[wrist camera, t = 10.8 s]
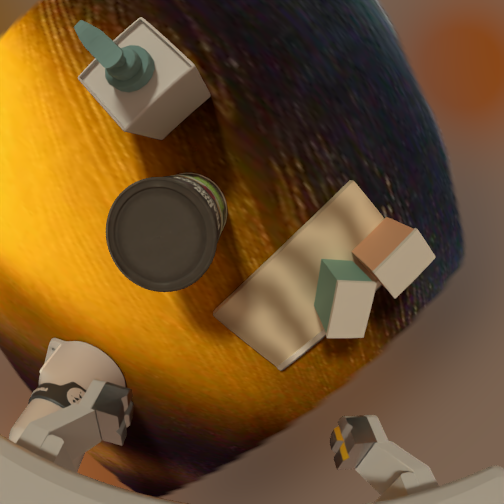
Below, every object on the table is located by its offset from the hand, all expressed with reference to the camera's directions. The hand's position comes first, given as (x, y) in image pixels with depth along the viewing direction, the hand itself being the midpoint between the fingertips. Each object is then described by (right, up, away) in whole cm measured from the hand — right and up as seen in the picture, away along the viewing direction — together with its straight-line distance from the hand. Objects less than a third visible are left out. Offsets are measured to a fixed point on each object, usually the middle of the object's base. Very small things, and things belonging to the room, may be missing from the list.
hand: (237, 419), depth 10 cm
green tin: (+12, +2, +30) cm, 32 cm away
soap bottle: (-11, +26, +24) cm, 38 cm away
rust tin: (+18, +7, +29) cm, 35 cm away
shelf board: (+9, +2, +32) cm, 33 cm away
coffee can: (-8, +12, +29) cm, 32 cm away
